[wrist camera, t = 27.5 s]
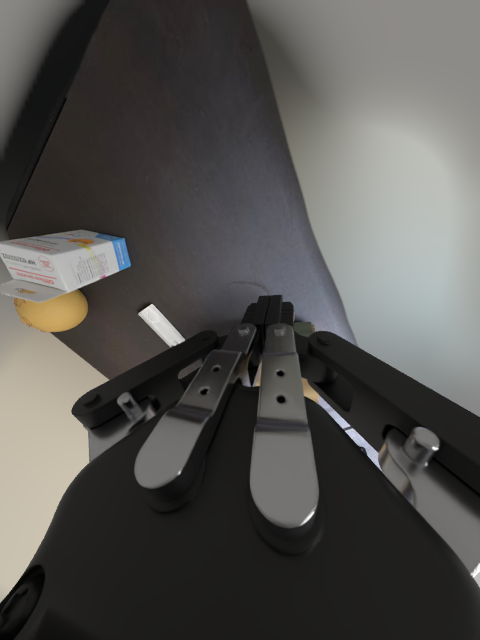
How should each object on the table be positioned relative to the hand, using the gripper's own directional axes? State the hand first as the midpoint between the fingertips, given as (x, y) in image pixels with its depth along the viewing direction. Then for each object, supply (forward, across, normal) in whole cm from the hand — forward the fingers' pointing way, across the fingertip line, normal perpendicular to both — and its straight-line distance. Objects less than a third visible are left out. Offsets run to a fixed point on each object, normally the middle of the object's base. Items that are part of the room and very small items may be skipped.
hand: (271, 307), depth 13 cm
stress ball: (+16, +43, +4) cm, 46 cm away
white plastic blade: (+16, +24, +15) cm, 33 cm away
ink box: (+16, +30, -4) cm, 34 cm away
